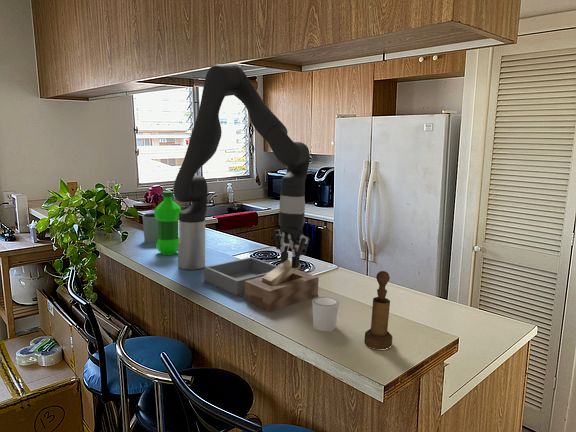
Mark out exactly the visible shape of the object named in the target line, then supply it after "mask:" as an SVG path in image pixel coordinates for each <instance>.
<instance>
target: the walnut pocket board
mask: <svg viewBox="0 0 576 432" xmlns="http://www.w3.org/2000/svg"><path fill="white" fill-rule="evenodd" d="M319 281H320V280H319V276H316V275H314V274H311V273H308V272H304V271H302V270H300V269H298V270H297V271H295V272H294V273H293V274H291V275H290V276H289V277H287V278H286V279H285V280H283V281H282V282H281V283H279V284H278V285H274V286H271V285H269V284H266V283H264V282H263V280H262V277H259V278H255V279H251V280H247V281H245V295H244V297H243V298H244V302H247V303H249V304H251V305H254V306H256V307H258V308H259V309H262V310H264V311H266V312H273V311H275V310H279V309H282V308H285V307H288V306H292V305H294V304H297V303H300V302H303V301H307V300H309V299H312V298H313V299H314V298H317V297H319V296H318V295H319Z"/></svg>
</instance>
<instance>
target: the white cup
mask: <svg viewBox="0 0 576 432" xmlns="http://www.w3.org/2000/svg"><path fill="white" fill-rule="evenodd" d="M311 302H312V303H311V304H312V319H313V322H312V323H313V328H314V329H315V330H316V331H320V332H332V331H334V330H335V329H336V326H337V317H338V311H339V305H340V301H339V300H338V299H336V298H334V297H330V296H316V297H313V299H312V301H311Z"/></svg>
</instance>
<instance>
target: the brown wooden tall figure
mask: <svg viewBox="0 0 576 432" xmlns="http://www.w3.org/2000/svg"><path fill="white" fill-rule="evenodd" d="M375 278H376V281H377V283H378V288H377V290H376V292H377V293H376V294H377V296H375V297H373V299H372V307H371V308H372V312H371V320H370V321H371V322H370V328H369V329H368V330H366V331H365V333H364V338H363V339H364V344H366V345H367V346H366V345H365V346H366V347H368V348H369V347H371V348H370V349H372V348H375V349H374V350H376V349H386V348H389V347H390V346H391V345H392V346H393V335H392V334H391V332H389V331H388V327H389V316H390V306H391V301H390V299H389V298H386V296H387V293H388V290H387V289H386V286H387V285H388V283H389V281H390V278H391V277H390V274H389V273H388V271H385V270H381V271H379V272H377V273H376V276H375ZM392 346H391V347H392ZM389 349H390V348H389Z"/></svg>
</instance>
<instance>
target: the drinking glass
mask: <svg viewBox="0 0 576 432" xmlns="http://www.w3.org/2000/svg"><path fill="white" fill-rule="evenodd" d="M141 216H142V218H141V219H142V228H143V238H144V243H146V244H151V245H152V244H153V245H154V244H155V245H156V242H157V240H158V220H157V219H156V218H155V215H154V212H150V213H149V212H147V213H144V214H142V215H141Z"/></svg>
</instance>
